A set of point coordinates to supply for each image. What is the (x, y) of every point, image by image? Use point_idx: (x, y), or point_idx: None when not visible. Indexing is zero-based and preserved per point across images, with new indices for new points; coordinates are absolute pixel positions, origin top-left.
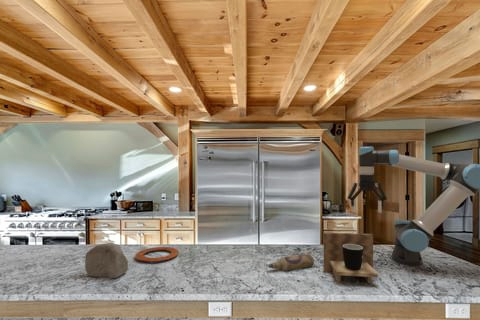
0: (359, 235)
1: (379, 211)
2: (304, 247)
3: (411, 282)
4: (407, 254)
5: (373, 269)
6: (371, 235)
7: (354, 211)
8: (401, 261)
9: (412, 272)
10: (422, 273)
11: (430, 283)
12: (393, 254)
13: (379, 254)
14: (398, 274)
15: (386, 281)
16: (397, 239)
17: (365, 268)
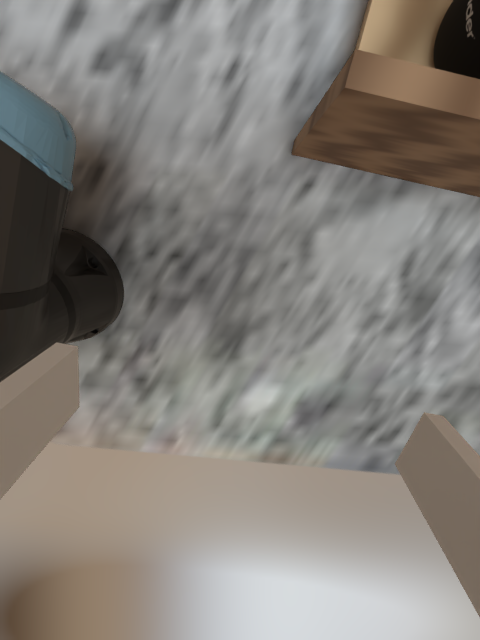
0: (476, 85)
1: (67, 375)
2: (398, 448)
3: (174, 28)
4: (59, 250)
5: (372, 3)
6: (368, 55)
7: (449, 425)
8: (102, 254)
9: (109, 152)
10: None
11: (93, 8)
12: (110, 300)
13: (145, 356)
14: (182, 133)
15: (282, 50)
16: (50, 312)
17: (407, 26)
